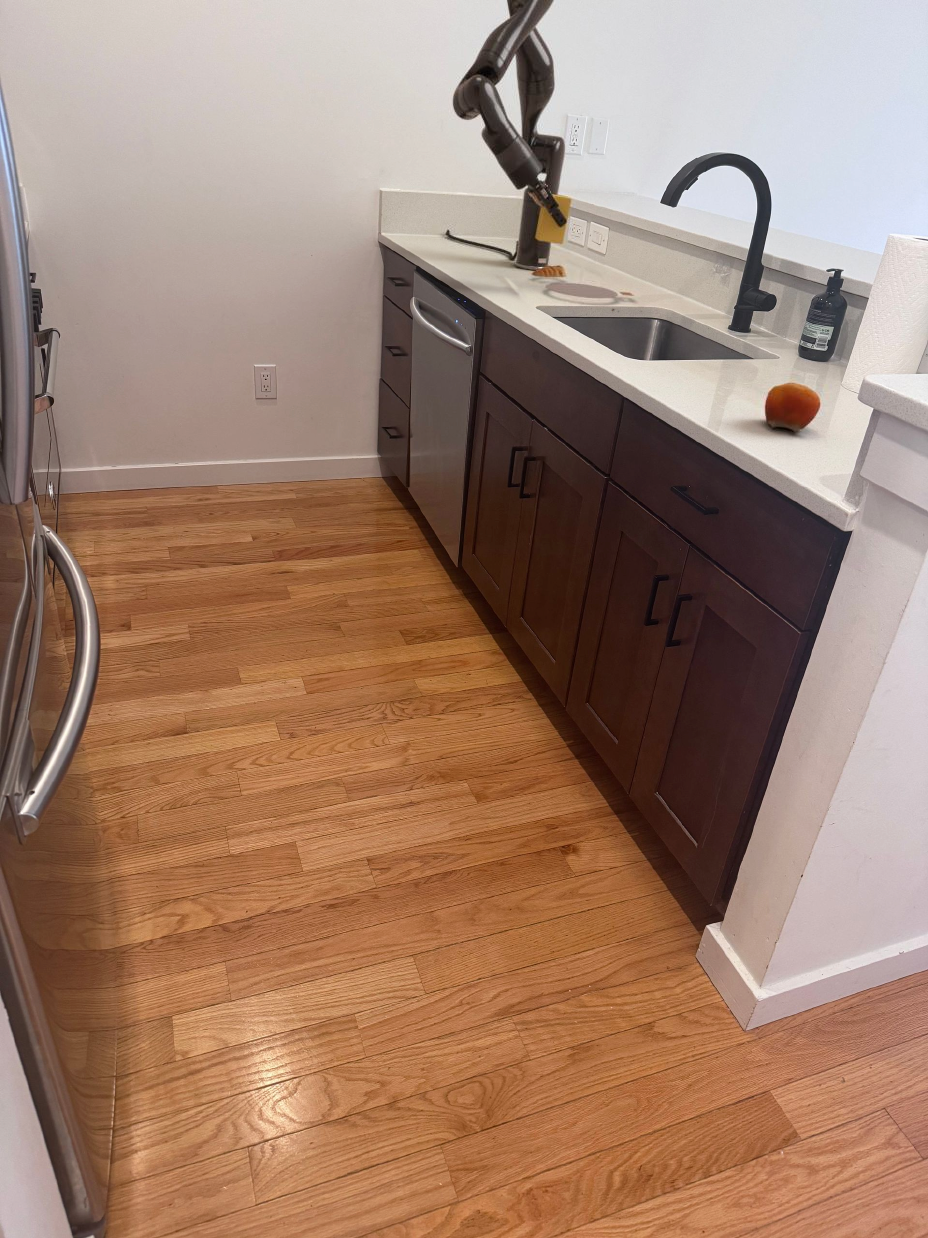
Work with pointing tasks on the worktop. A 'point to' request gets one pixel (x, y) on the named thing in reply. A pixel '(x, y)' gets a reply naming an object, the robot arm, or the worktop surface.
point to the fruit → (791, 406)
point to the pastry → (550, 271)
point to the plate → (581, 290)
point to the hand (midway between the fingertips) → (561, 222)
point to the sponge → (552, 222)
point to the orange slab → (626, 293)
